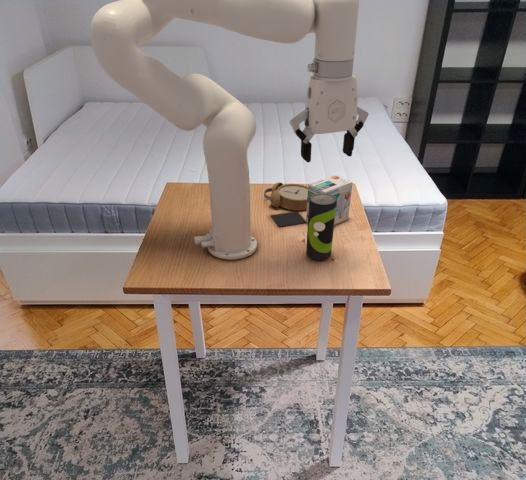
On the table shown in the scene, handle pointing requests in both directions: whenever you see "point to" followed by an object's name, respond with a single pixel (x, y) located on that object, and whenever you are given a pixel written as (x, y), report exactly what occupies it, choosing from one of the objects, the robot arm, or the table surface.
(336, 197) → the light bulb box
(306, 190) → the alarm clock
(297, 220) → the mat
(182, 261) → the table surface
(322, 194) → the beverage can
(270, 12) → the robot arm
